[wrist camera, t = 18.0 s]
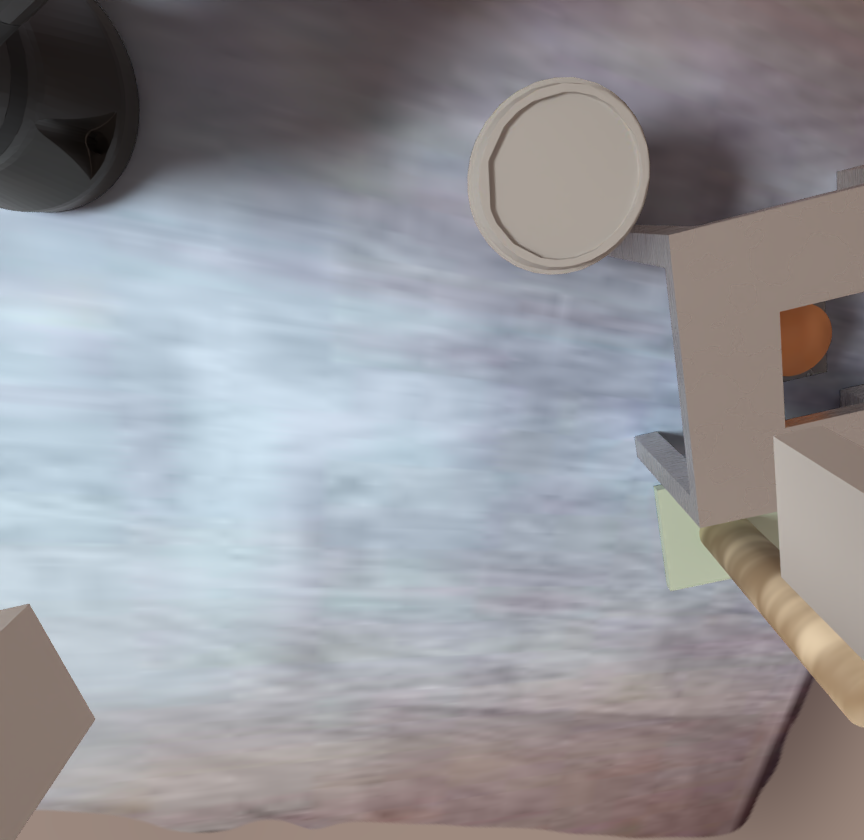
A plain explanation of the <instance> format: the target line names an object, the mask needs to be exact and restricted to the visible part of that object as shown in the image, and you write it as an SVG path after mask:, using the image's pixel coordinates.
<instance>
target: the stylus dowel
mask: <svg viewBox="0 0 864 840" xmlns="http://www.w3.org/2000/svg"><path fill="white" fill-rule="evenodd" d="M699 536H700V540H701V542H702V543H703V545H704V546H705V547H706V548H707V550H708V551H709V552H710V553H711V554H712V556H713V557H714V558H715V559H716V560H717V562H718V563H719V564H720V565H721V566H722V568H723V569H724V570H725V571H726V572H727V574H728V575H729V576H730V577H731V578H732V580H733V581H734V582H735V583H736V584H737V586H738V587H739V588H740V589H741V590H742V592H743V593H744V594H745V595H746V596H747V598H748V599H749V600H750V601H751V602H752V604H753V605H754V606H755V607H756V608H757V610H758V611H759V612H760V613H761V614H762V616H763V617H764V618H765V619H766V620H767V622H768V623H769V624H770V625H771V626H772V628H773V629H774V630H775V631H776V632H777V634H778V635H779V636H780V637H781V639H782V640H783V641H784V642H785V643H786V645H787V646H788V647H789V648H790V649H791V651H792V652H793V653H794V654H795V655H796V657H797V658H798V659H799V660H800V661H801V663H802V664H803V665H804V666H805V667H806V669H807V670H808V671H809V672H810V673H811V675H812V676H813V677H814V678H815V679H816V681H817V682H818V683H819V684H820V685H821V687H822V688H823V689H824V690H825V691H826V693H827V694H828V695H829V696H830V697H831V699H832V700H833V701H834V702H835V703H836V705H837V706H838V707H839V708H840V709H841V711H842V712H843V713H844V714H845V715H846V717H847V718H848V719H849V720H850V721H851V722H852V723H854V724H855V725H857V726H860V727H863V728H864V661H863V660H862V659H861V658H860V657H859V656H858V655H857V653H856V652H855V651H854V650H853V649H852V648H851V647H850V646H849V645H848V644H847V643H846V642H845V641H844V640H843V639H842V638H841V637H840V636H839V635H838V634H837V633H836V632H835V631H834V630H833V629H832V628H831V627H830V626H829V625H828V624H827V623H826V622H825V621H824V620H823V619H822V618H821V617H820V616H819V615H818V614H817V613H816V612H815V611H814V610H813V609H812V608H811V607H810V606H809V605H808V604H807V603H806V602H805V601H804V600H803V599H802V598H801V597H800V596H799V595H798V594H797V593H796V592H795V591H794V590H793V589H792V588H791V587H790V586H789V585H788V584H787V582H786V581H785V580H784V579H783V578H782V577H781V567H780V550H779V549H778V548H777V547H776V546H775V545H774V544H773V543H772V542H770V541H769V540H768V539H767V538H766V537H765V536H764V535H763V534H762V533H761V532H760V531H759V530H758V529H757V528H756V527H755V526H754V525H753V524H752V523H751V522H750V521H749V520H747V519H746V518H745V519H740V520H736V521H731V522H726V523H722V524H717V525H712V526H708V527H703V528H700V531H699Z"/></svg>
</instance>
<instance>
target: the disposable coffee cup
mask: <svg viewBox="0 0 864 840" xmlns="http://www.w3.org/2000/svg"><path fill="white" fill-rule="evenodd" d="M649 178H650V160H649V151H648V146H647V143H646V140H645V136H644V133H643V130H642V128H641V126H640V124H639V122H638V120H637V118H636V116H635V115H634V114H633V112H632V111H631V110H630V108H629V107H628V106H627V104H626V103H625V102H624V101H622V100H621V99H620V98H619V97H618V96H617V95H615V94H614V93H613V92H612V91H610V90H608V89H606V88H605V87H603V86H601V85H599V84H597V83H594V82H590V81H587V80H583V79H579V78H575V77H568V78H552V79H547V80H542V81H538V82H535V83H533V84H531V85H529V86H527V87H525V88H523V89H521V90H519V91H517V92H516V93H514V94H513V95H512V96H511V97H509V98H508V99H507V100H505V101H504V102H503V103H502V104H500V105H499V107H498V108H497V109H496V110H495V112H494V113H493V114H492V115H491V116H490V118H489V119H488V120H487V121H486V123H485V124H484V126H483V128H482V130H481V132H480V134H479V136H478V138H477V139H476V142H475V145H474V147H473V150H472V154H471V157H470V163H469V170H468V196H469V203H470V209H471V212H472V215H473V218H474V220H475V223H476V225H477V227H478V229H479V231H480V232H481V234H482V235H483V237H484V238H485V240H486V241H487V243H488V244H489V246H491V247H492V248H493V249H494V250H495V251H496V252H497V253H498V254H499V255H500V256H501V257H502V258H504V259H505V260H507V261H509V262H510V263H512V264H513V265H515V266H517V267H519V268H522V269H525V270H528V271H531V272H534V273H542V274H550V275H551V274H565V273H570V272H574V271H577V270H581V269H584V268H586V267H588V266H590V265H592V264H594V263H596V262H598V261H600V260H601V259H603V258H604V257H606V256H607V255H609V254H610V253H611V252H612V251H613V250H614V249H615V248H616V247H617V246H618V245H620V244H621V243H622V241H623V240H624V239H625V238H626V236H627V235H628V234H629V233H630V231H631V229H632V228H633V226H634V225H635V223H636V221H637V220H638V218H639V215H640V213H641V211H642V208H643V206H644V203H645V200H646V196H647V191H648V187H649Z"/></svg>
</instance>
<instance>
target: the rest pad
mask: <svg viewBox="0 0 864 840" xmlns="http://www.w3.org/2000/svg"><path fill="white" fill-rule="evenodd" d="M654 492H655V500H656V507H657V515H658V522H659V530H660V537H661V545H662V552H663V559H664V567H665V574H666V582H667V586H668V588H669V589H670V591H674V590H678V589H683V588H688V587H693V586H698V585H703V584H707V583H712V582H717V581H722V580H727V579H731V577H730V576H729V575H728V574H727V572H726V571H725V570H724V569H723V568H722V566H721V565H720V564H719V563H718V562H717V560H716V559H715V558H714V557H713V556H712V554H711V553H710V552H709V551H708V550H707V548H706V547H705V546H704V545H703V543H702V542H701V540H700V536H699V531H700V528H699V526H698V525H697V524H696V523H695V522H694V521H693V520H692V518H691V517H690V516H689V515H688V514H687V513H686V512H685V511H684V509H683V508H682V507H681V506H680V505H679V504H678V503H677V501H676V500H675V499H674V498H673V497H672V496H671V495H670V493H669V492H668V491H667V490H666V489H665V488H664V487H663V486H662V485H658V486H654ZM746 519H747V520H749V521H750V522H751V523H752V524H753V525H754V526H755V527H756V528H757V529H758V530H759V531H760V532H761V533H762V534H763V535H764V536H765V537H766V538H767V539H768V540H769V541H770V542H772V543H773V544H774V545H775V546H776V547H777V548H778V549H779V531H778V514H777V512H773V513H768V514H763V515H759V516H754V517H750V518H746ZM779 550H780V549H779Z"/></svg>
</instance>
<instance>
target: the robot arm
mask: <svg viewBox="0 0 864 840" xmlns="http://www.w3.org/2000/svg"><path fill="white" fill-rule="evenodd" d="M138 123H139V99H138V91H137V85H136V80H135V76H134V72H133V68H132V65H131V62H130V59H129V56H128V54H127V51H126V49H125V47H124V45H123V43H122V40H121V38H120V37H119V35H118V33H117V31H116V29H115V28H114V26H113V25H112V23H111V21H110V20H109V19H108V17H107V16H106V14H105V13H104V12H103V10H102V9H101V8H100V7H99V6H98V4H97V3H96V2H95V1H94V0H0V208H3V209H7V210H13V211H21V212H60V211H66V210H71V209H74V208H77V207H80V206H83V205H85V204H87V203H89V202H91V201H93V200H95V199H96V198H98V197H99V196H101V195H102V194H103V193H104V192H106V191H107V190H108V189H109V188H110V187H111V186H112V185H113V184H114V183H115V182H116V180H117V179H118V178H119V176H120V175H121V174H122V172H123V170H124V169H125V167H126V165H127V163H128V161H129V159H130V157H131V154H132V152H133V148H134V145H135V141H136V137H137V131H138ZM773 443H774V461H775V479H776V496H777V514H778V531H779V549H780V567H781V577H782V578H783V579H784V580H785V581H786V582H787V584H788V585H789V586H790V587H791V588H792V589H793V590H794V591H795V592H796V593H797V594H798V595H799V596H800V597H801V598H802V599H803V600H804V601H805V602H806V603H807V604H808V605H809V606H810V607H811V608H812V609H813V610H814V611H815V612H816V613H817V614H818V615H819V616H820V617H821V618H822V619H823V620H824V621H825V622H826V623H827V624H828V625H829V626H830V627H831V628H832V629H833V630H834V631H835V632H836V633H837V634H838V635H839V636H840V637H841V638H842V639H843V640H844V641H845V642H846V643H847V644H848V645H849V646H850V647H851V648H852V649H853V650H854V651H855V652H856V653H857V655H858V656H859V657H860V658H861V659H862V660H863V661H864V448H863V447H861V446H860V445H858V444H856V443H854V442H852V441H850V440H848V439H846V438H844V437H842V436H840V435H839V434H837V433H835V432H833V431H831V430H829V429H827V428H825V427H823V426H816V427H812V428H807V429H803V430H799V431H794V432H790V433H785V434H781V435H776V436H773ZM94 720H95V718H94V716H93V714H92V712H91V711H90V709H89V707H88V706H87V704H86V702H85V700H84V699H83V697H82V695H81V693H80V692H79V690H78V688H77V686H76V685H75V683H74V681H73V679H72V678H71V676H70V674H69V672H68V671H67V669H66V667H65V665H64V664H63V662H62V660H61V658H60V657H59V655H58V653H57V651H56V650H55V648H54V646H53V644H52V643H51V641H50V639H49V637H48V636H47V634H46V632H45V630H44V629H43V627H42V625H41V624H40V622H39V620H38V618H37V617H36V615H35V613H34V611H33V610H32V608H31V606H30V604H26V605H21V606H17V607H13V608H8V609H4V610H0V840H15V839H16V838H17V836H18V835H19V833H20V832H21V830H22V829H23V827H24V826H25V824H26V823H27V821H28V820H29V818H30V817H31V815H32V814H33V812H34V811H35V809H36V808H37V806H38V805H39V803H40V802H41V800H42V799H43V797H44V796H45V794H46V793H47V791H48V790H49V788H50V787H51V785H52V784H53V782H54V781H55V779H56V778H57V776H58V775H59V773H60V772H61V770H62V769H63V767H64V766H65V764H66V763H67V761H68V760H69V758H70V757H71V755H72V754H73V752H74V751H75V749H76V748H77V746H78V745H79V743H80V742H81V740H82V739H83V737H84V736H85V734H86V733H87V731H88V729H89V728H90V726H91V725H92V723H93V722H94Z"/></svg>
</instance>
